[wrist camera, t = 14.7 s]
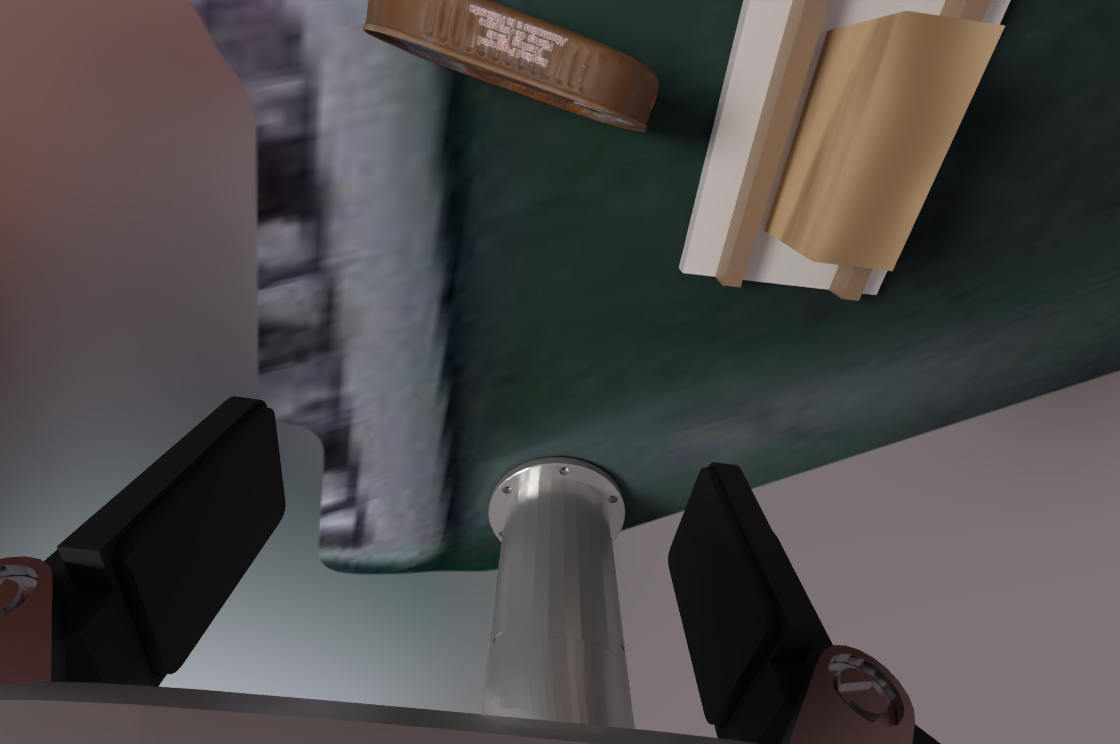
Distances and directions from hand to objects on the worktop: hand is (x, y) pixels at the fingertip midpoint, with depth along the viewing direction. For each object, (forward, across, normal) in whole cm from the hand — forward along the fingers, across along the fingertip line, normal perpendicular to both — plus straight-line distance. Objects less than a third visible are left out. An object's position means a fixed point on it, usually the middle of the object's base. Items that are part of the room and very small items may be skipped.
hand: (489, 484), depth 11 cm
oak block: (+24, -17, -8) cm, 31 cm away
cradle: (+26, -17, -9) cm, 32 cm away
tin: (+26, +2, -10) cm, 28 cm away
